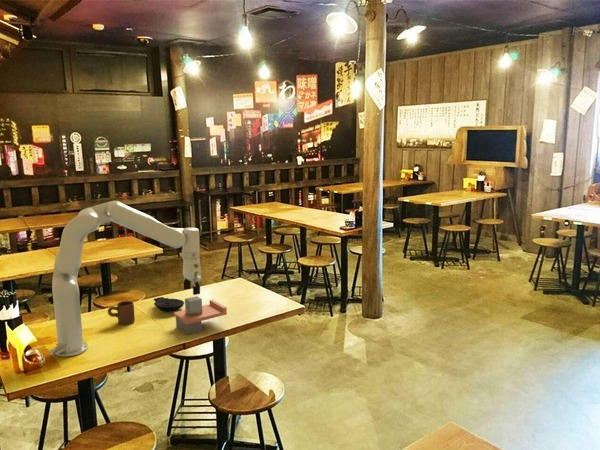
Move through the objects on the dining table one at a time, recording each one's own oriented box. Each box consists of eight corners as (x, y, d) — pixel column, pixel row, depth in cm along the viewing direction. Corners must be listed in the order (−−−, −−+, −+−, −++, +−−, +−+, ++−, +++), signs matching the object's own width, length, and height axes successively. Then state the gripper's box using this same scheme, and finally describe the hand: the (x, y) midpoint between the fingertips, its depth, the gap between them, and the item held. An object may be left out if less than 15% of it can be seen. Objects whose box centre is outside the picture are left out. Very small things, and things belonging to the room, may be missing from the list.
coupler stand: (187, 336, 220) (186, 317, 218) (174, 326, 231) (173, 308, 229) (227, 325, 232) (226, 307, 230) (213, 317, 243) (212, 299, 241)
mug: (111, 328, 230) (109, 309, 228) (106, 323, 236) (105, 304, 234) (137, 322, 236) (135, 304, 235) (132, 318, 243) (130, 299, 241)
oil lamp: (171, 301, 266) (171, 292, 265) (190, 311, 252) (189, 301, 251) (145, 308, 257) (144, 299, 256) (163, 318, 242) (162, 308, 241)
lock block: (190, 316, 225) (189, 301, 223) (185, 313, 229) (184, 298, 227) (202, 313, 228) (202, 298, 227) (198, 310, 232) (197, 296, 231)
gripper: (207, 257, 219) (207, 295, 222) (190, 250, 232) (191, 285, 235) (191, 260, 214) (192, 298, 217) (175, 252, 228) (176, 288, 231)
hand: (191, 291), depth 226 cm, fingers open, 9 cm apart
